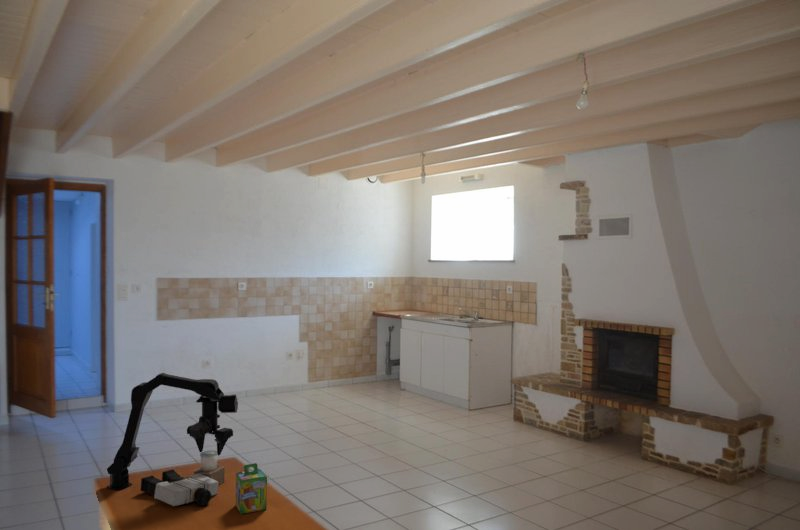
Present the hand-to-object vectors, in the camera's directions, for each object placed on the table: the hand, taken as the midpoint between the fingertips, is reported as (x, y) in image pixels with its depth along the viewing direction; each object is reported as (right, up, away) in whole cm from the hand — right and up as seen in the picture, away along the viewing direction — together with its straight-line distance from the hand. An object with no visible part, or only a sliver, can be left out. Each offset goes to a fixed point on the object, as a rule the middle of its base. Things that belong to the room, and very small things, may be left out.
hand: (209, 453), depth 224 cm
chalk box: (+21, -12, -22) cm, 33 cm away
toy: (-6, -12, -12) cm, 18 cm away
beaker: (0, -6, 0) cm, 6 cm away
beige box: (0, -12, 0) cm, 12 cm away
